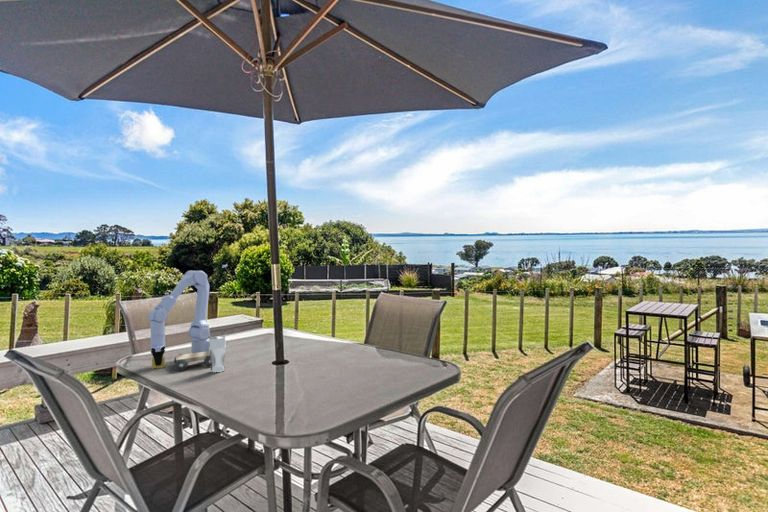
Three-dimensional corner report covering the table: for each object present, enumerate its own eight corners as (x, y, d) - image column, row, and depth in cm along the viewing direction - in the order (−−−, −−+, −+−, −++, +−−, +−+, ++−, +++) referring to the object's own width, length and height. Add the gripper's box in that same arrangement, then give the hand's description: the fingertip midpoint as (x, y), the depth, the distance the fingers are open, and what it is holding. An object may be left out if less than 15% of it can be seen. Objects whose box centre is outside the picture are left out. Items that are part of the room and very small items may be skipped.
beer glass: (205, 372, 172) (205, 338, 172) (219, 368, 178) (218, 335, 178) (216, 374, 169) (215, 339, 169) (229, 370, 175) (229, 336, 175)
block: (164, 365, 184) (164, 355, 184) (164, 367, 181) (164, 357, 181) (152, 367, 182) (152, 357, 182) (152, 369, 178) (151, 359, 178)
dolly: (213, 360, 192) (213, 340, 192) (216, 366, 181) (216, 345, 181) (174, 365, 183) (174, 344, 183) (175, 372, 173) (174, 350, 173)
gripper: (148, 333, 185) (148, 361, 185) (147, 338, 173) (147, 369, 173) (165, 331, 189) (165, 359, 189) (165, 336, 176) (166, 366, 176)
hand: (158, 364), depth 181 cm, fingers closed on block, 4 cm apart
